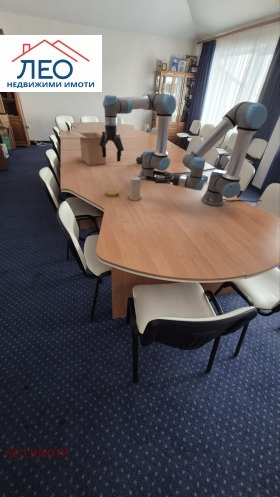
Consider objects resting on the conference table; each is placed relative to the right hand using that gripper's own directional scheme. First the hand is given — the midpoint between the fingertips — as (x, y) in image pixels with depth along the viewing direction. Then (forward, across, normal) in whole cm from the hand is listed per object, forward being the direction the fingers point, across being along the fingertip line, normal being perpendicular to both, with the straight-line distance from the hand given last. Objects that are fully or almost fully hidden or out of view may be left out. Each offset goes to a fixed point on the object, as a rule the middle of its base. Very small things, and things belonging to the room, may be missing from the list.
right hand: (149, 174), depth 152 cm
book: (-21, +60, -20) cm, 67 cm away
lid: (+28, -3, -18) cm, 34 cm away
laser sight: (+37, +89, -20) cm, 98 cm away
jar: (+11, 0, -20) cm, 22 cm away
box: (+88, +65, -20) cm, 111 cm away
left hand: (+28, -3, +6) cm, 29 cm away
